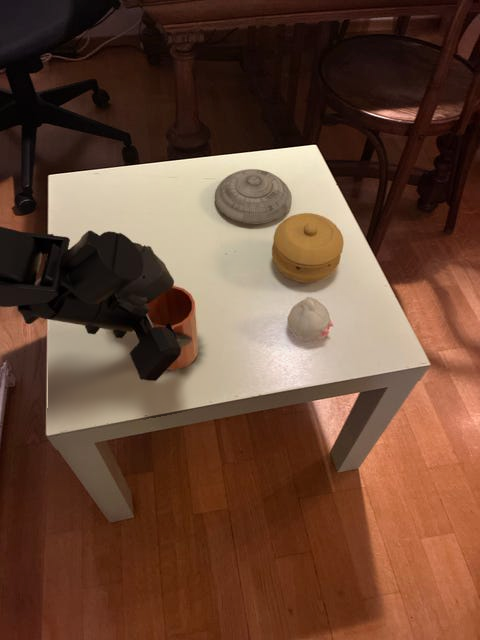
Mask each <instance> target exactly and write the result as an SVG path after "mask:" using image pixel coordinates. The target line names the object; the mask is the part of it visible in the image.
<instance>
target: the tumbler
mask: <svg viewBox="0 0 480 640" xmlns="http://www.w3.org/2000/svg"><path fill="white" fill-rule="evenodd" d="M146 305H148V307H149V309H150V311H149V312H148V313H147V314H148V316H149V318H150V320H151V322H152V324H153V326H154V327H159V326H162V327H165V326H166V325H167V324H168V323H170V324H171V326H172V328H173V330H174V332H177V333H181V334H184V335H187V336H190V337H192V339H193V340H192V341H191V342H190V343H189V344H188V345H186V346H183V347H181V354H180V356H179V357H178V358H177V359H176V360H175V361H174V362H173V363H172V365H171V366H170V367H169V368H168V369H167V370H180V369H183V368H185V367H187V366H188V365H190V364H192V363H193V362H194V361H195V359H196V357H197V355H198V352H199V338H198V337H199V336H198V325H197V324H198V323H197V311H196V301H195V299H194V297H193V295H192V294H191V292H189V291H188V290H186V289H185V288H183V287H180V286H176V285H173V287H172V288H171V289H170V290H169V291H166V292H164V293H163V294H161V295H160V296H159V297H157V298H156V299H154V300H153V301H152V302H150V303H148V304H146Z"/></svg>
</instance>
